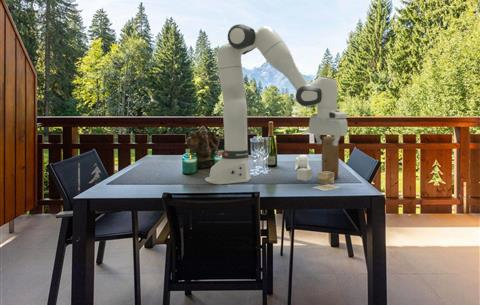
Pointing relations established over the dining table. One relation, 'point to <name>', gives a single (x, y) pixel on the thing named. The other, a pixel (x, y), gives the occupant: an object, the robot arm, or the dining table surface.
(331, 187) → the card
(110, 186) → the dining table surface
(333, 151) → the block
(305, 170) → the grey cube
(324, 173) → the oak cube
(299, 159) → the white figurine
